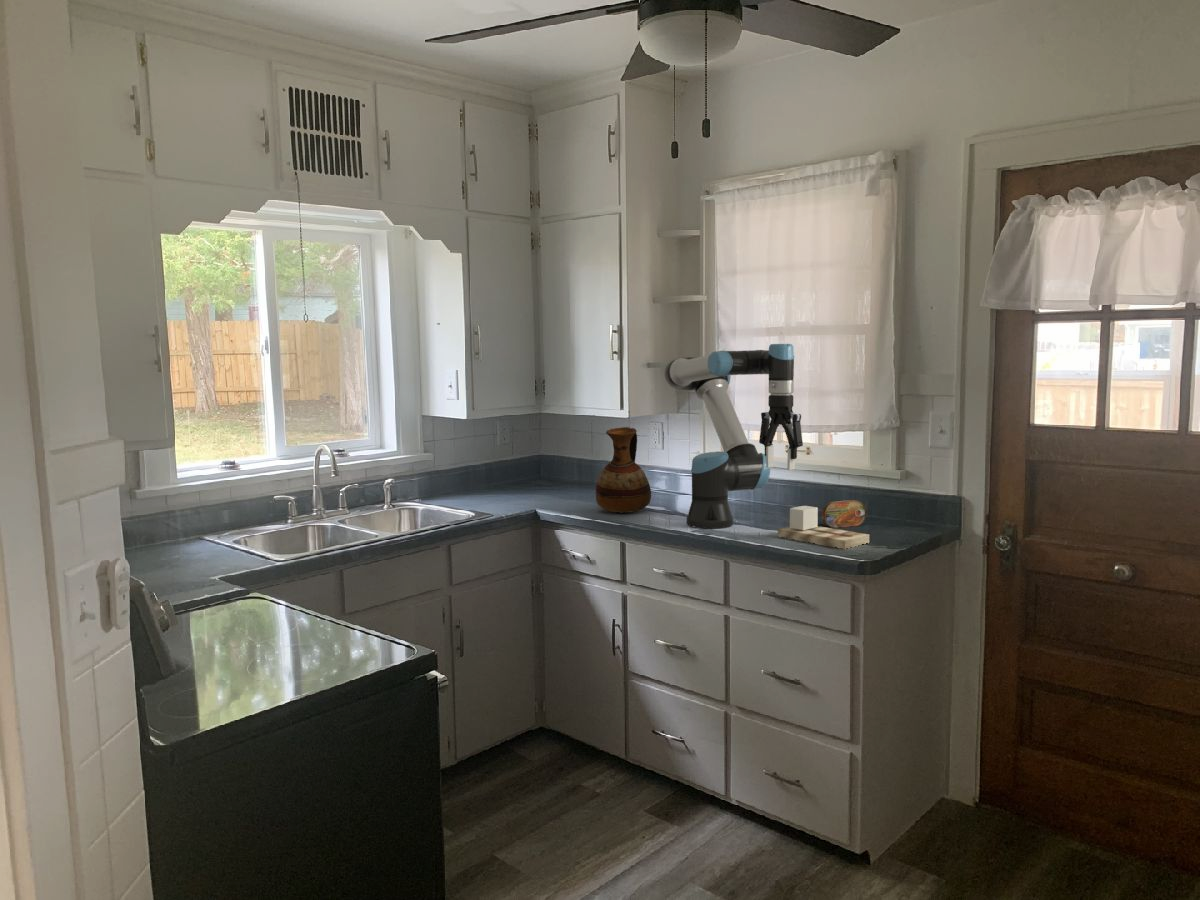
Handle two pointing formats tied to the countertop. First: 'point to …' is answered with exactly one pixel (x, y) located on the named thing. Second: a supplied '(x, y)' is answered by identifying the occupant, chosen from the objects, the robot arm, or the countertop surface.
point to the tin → (844, 513)
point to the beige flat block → (825, 536)
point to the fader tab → (803, 517)
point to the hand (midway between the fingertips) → (780, 468)
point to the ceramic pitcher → (623, 476)
